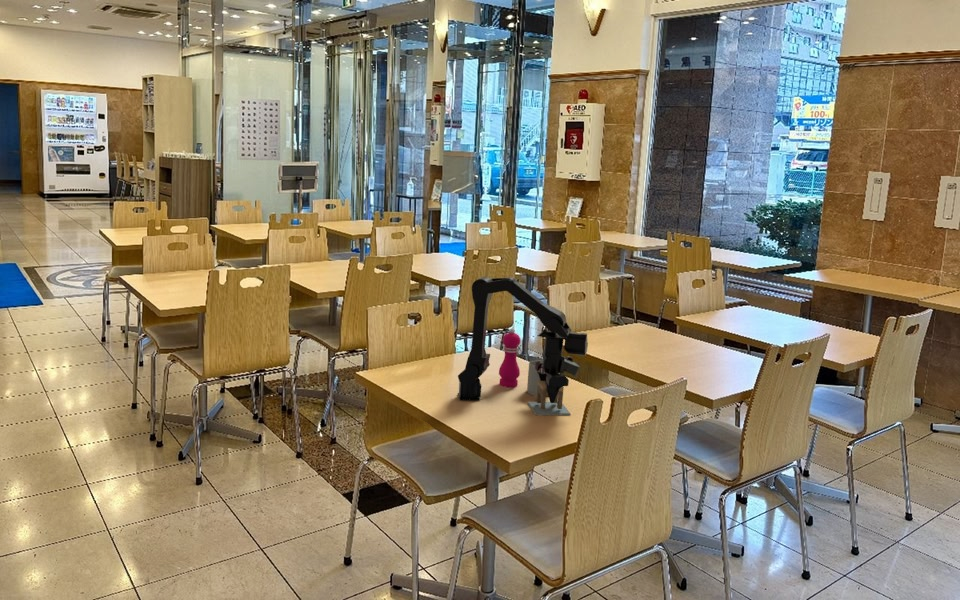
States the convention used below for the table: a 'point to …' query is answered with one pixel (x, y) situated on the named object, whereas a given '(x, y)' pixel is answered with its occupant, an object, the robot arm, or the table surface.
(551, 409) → the mat
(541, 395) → the stool
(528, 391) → the cup
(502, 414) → the table surface
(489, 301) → the robot arm
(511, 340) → the pepper mill
